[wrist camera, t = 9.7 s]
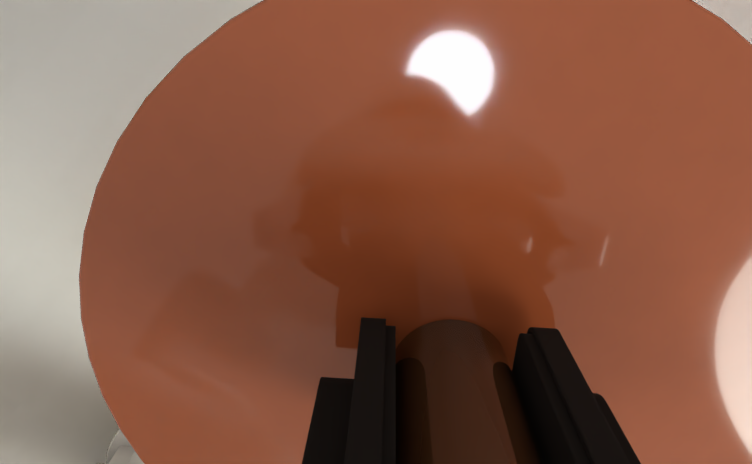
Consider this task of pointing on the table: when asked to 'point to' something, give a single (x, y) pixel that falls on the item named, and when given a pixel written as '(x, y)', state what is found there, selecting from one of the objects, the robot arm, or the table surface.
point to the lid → (431, 227)
